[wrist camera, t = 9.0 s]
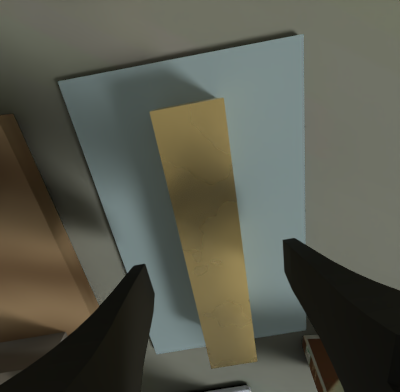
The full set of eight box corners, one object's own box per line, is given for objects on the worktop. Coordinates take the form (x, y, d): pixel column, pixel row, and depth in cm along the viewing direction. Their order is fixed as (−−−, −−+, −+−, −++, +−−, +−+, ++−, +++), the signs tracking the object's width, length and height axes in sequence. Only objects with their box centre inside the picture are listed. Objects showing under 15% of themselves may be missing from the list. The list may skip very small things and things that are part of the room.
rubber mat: (304, 325, 19) (306, 330, 19) (157, 349, 20) (156, 354, 19) (300, 35, 12) (303, 33, 11) (61, 82, 12) (57, 81, 12)
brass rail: (246, 321, 18) (257, 361, 16) (208, 327, 18) (211, 368, 16) (215, 97, 12) (223, 97, 10) (158, 108, 12) (149, 111, 10)
